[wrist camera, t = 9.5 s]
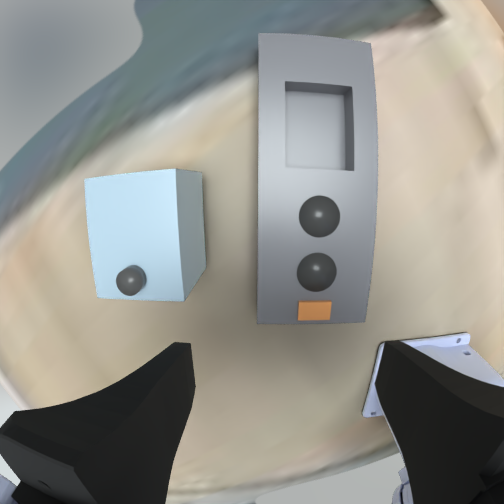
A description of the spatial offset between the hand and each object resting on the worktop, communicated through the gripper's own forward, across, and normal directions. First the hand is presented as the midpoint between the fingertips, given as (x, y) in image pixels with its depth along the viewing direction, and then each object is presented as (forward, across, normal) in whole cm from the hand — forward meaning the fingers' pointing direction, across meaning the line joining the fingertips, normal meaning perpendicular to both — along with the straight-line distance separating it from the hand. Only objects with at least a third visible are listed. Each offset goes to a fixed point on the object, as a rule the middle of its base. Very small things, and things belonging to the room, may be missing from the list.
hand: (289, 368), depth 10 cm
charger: (+10, +7, -4) cm, 13 cm away
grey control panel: (+10, -2, -7) cm, 13 cm away
